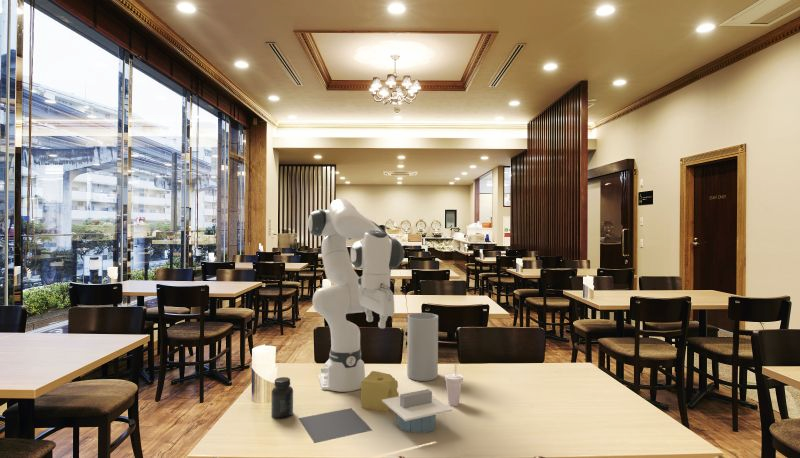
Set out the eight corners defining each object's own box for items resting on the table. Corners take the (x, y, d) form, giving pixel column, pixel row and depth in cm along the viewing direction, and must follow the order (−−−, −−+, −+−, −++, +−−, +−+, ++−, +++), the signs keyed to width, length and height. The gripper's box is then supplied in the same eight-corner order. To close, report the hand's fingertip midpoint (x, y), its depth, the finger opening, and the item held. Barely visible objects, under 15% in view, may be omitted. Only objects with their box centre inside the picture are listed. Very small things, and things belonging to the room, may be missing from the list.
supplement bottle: (270, 413, 149) (270, 377, 149) (291, 410, 152) (291, 374, 151) (272, 422, 143) (273, 384, 142) (294, 418, 145) (294, 381, 145)
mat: (298, 419, 144) (298, 418, 144) (351, 409, 153) (351, 408, 153) (314, 444, 128) (314, 442, 128) (372, 431, 137) (372, 430, 137)
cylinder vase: (418, 369, 195) (418, 311, 194) (443, 375, 187) (443, 315, 187) (401, 377, 185) (401, 316, 184) (427, 384, 177) (427, 320, 177)
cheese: (398, 401, 160) (398, 373, 160) (388, 414, 150) (388, 384, 149) (371, 398, 163) (371, 370, 163) (359, 409, 153) (359, 380, 153)
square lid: (382, 401, 145) (382, 388, 145) (425, 393, 152) (425, 381, 152) (405, 421, 130) (405, 407, 130) (451, 411, 138) (451, 397, 138)
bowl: (391, 421, 144) (391, 402, 144) (423, 414, 149) (423, 396, 149) (408, 437, 133) (408, 417, 133) (442, 429, 139) (442, 409, 139)
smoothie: (462, 408, 155) (462, 367, 154) (443, 406, 156) (443, 366, 156) (463, 400, 161) (463, 361, 161) (445, 399, 162) (445, 360, 162)
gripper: (399, 285, 137) (399, 331, 137) (372, 277, 155) (372, 317, 156) (380, 287, 134) (380, 333, 134) (355, 278, 152) (354, 318, 153)
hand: (375, 324), depth 145 cm, fingers open, 8 cm apart
